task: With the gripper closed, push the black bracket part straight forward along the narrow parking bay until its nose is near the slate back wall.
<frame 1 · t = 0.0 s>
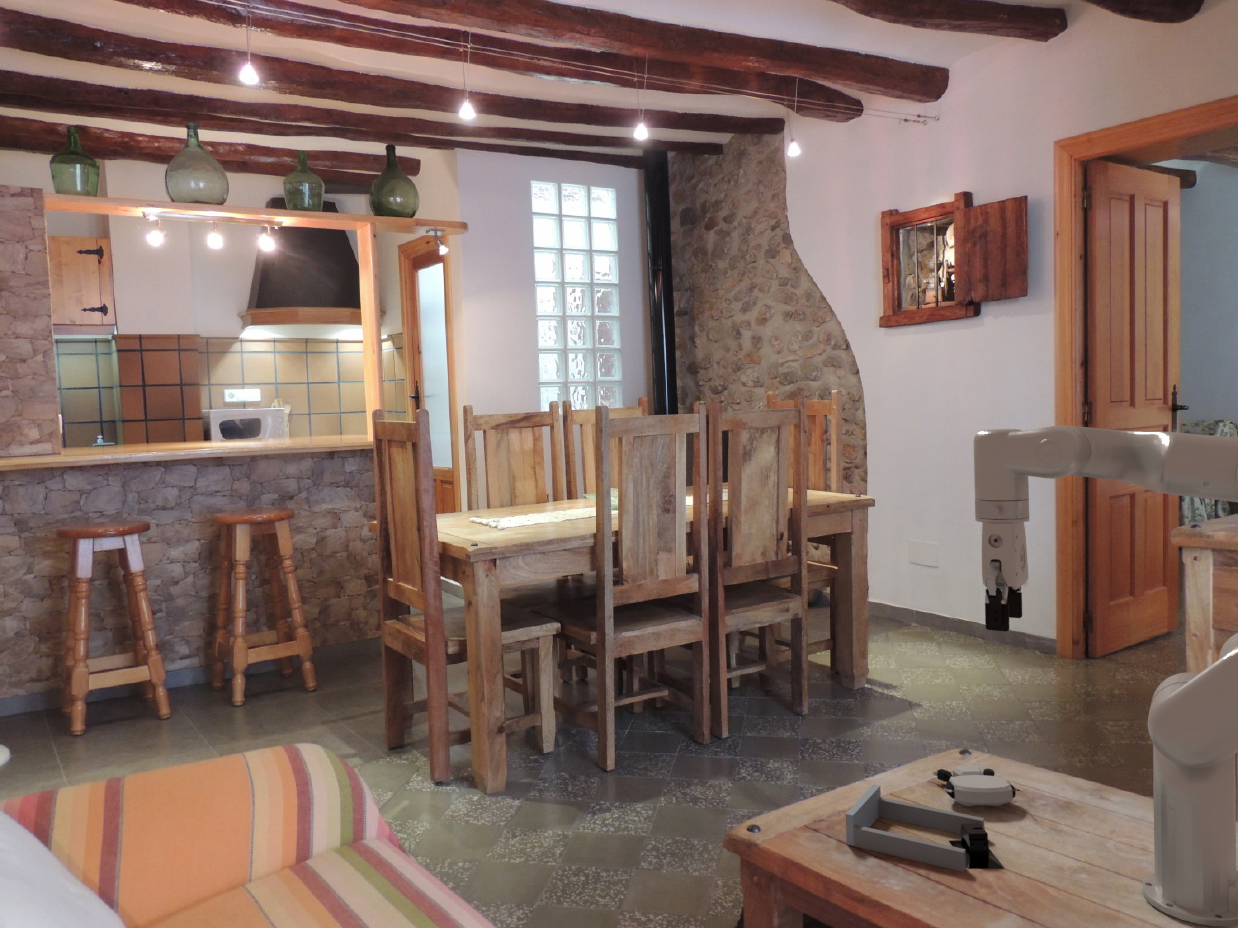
hand: (1004, 623, 136), 37 cm above the table, tool pointing down, fingers open, 9 cm apart
parking bay: (919, 840, 145), on the table
robot toy: (974, 798, 161), on the table
black bracket part: (975, 858, 140), on the table
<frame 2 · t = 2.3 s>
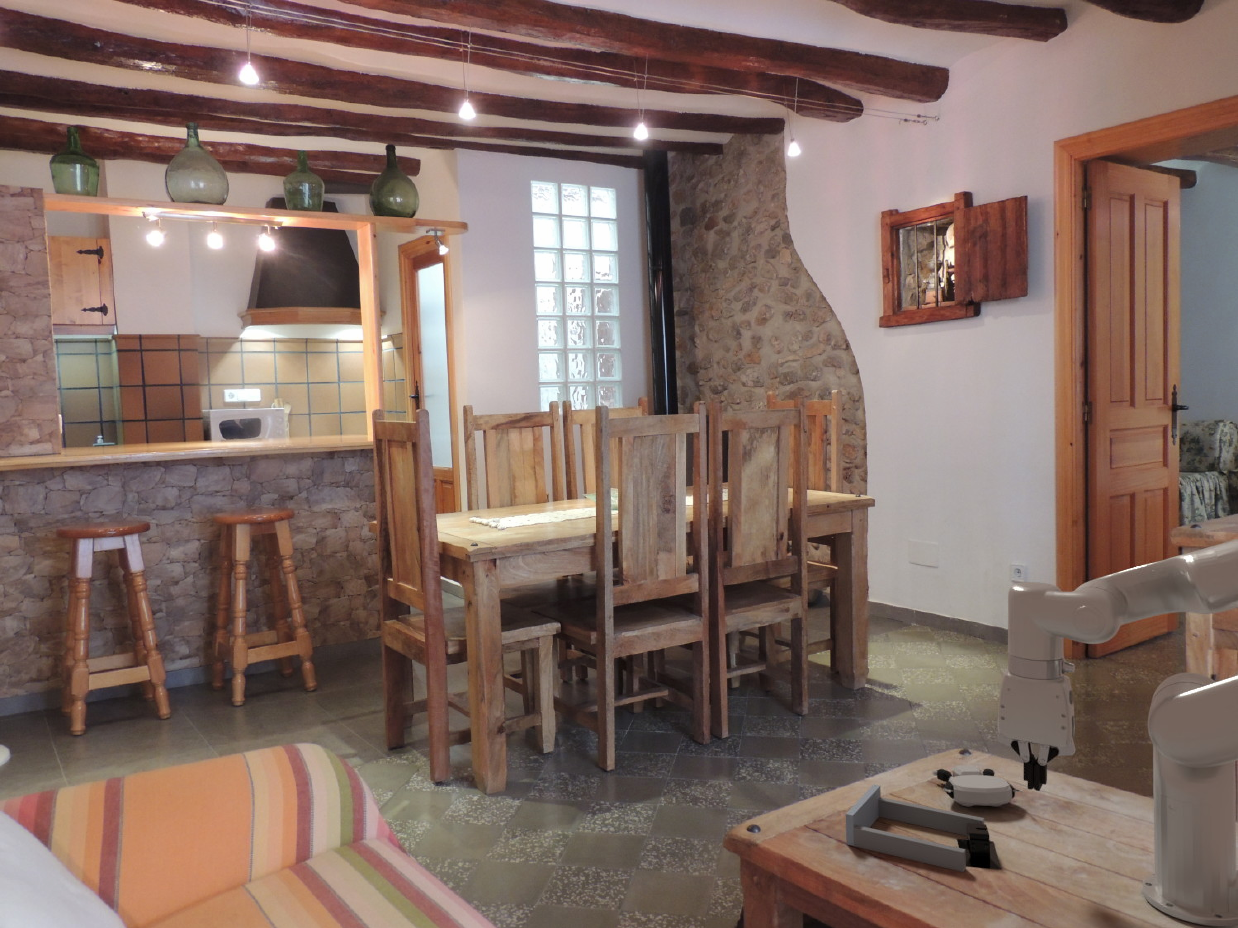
hand: (1035, 786, 135), 12 cm above the table, tool pointing down, fingers closed
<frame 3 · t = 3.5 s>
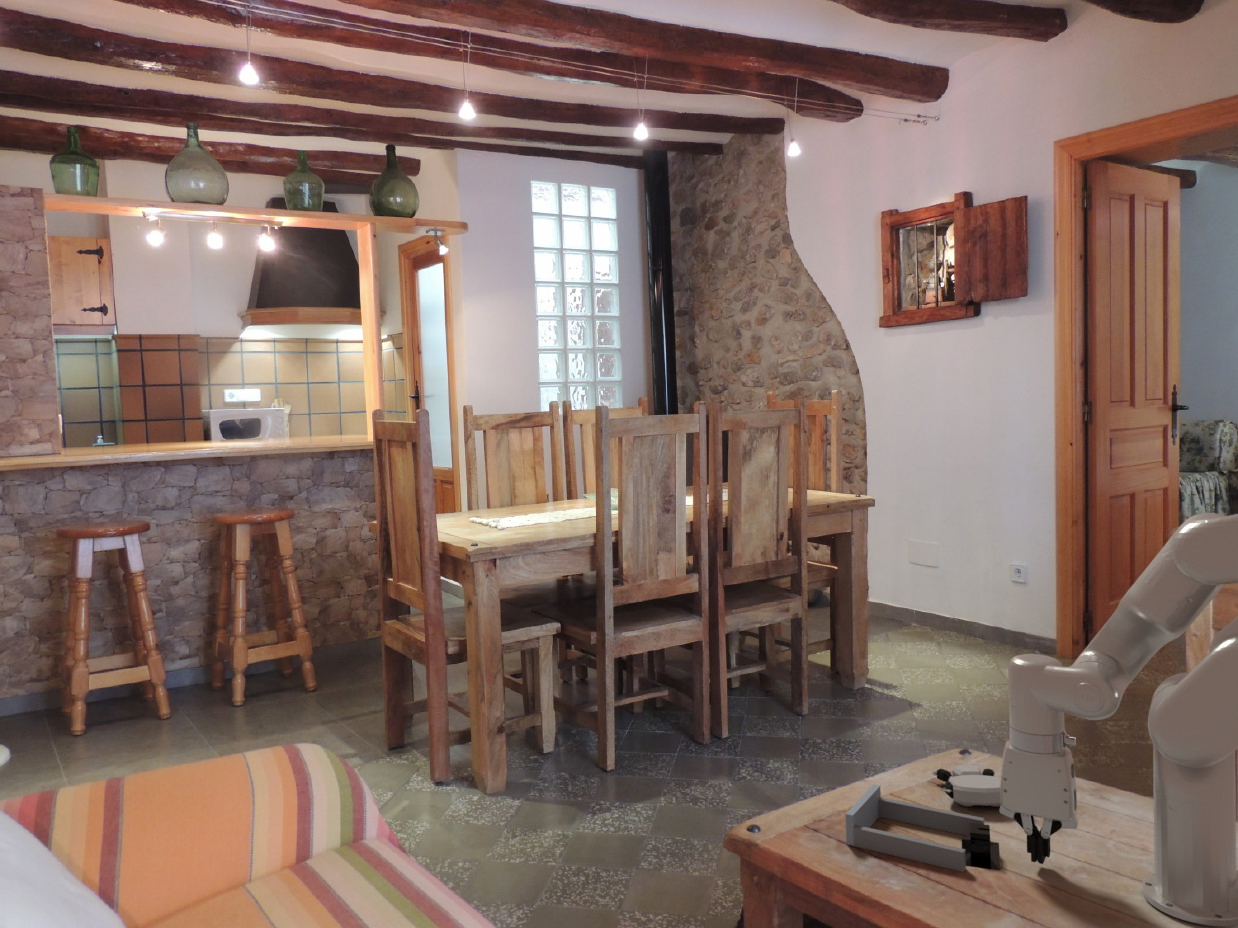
hand: (1038, 858, 135), 1 cm above the table, tool pointing down, fingers closed
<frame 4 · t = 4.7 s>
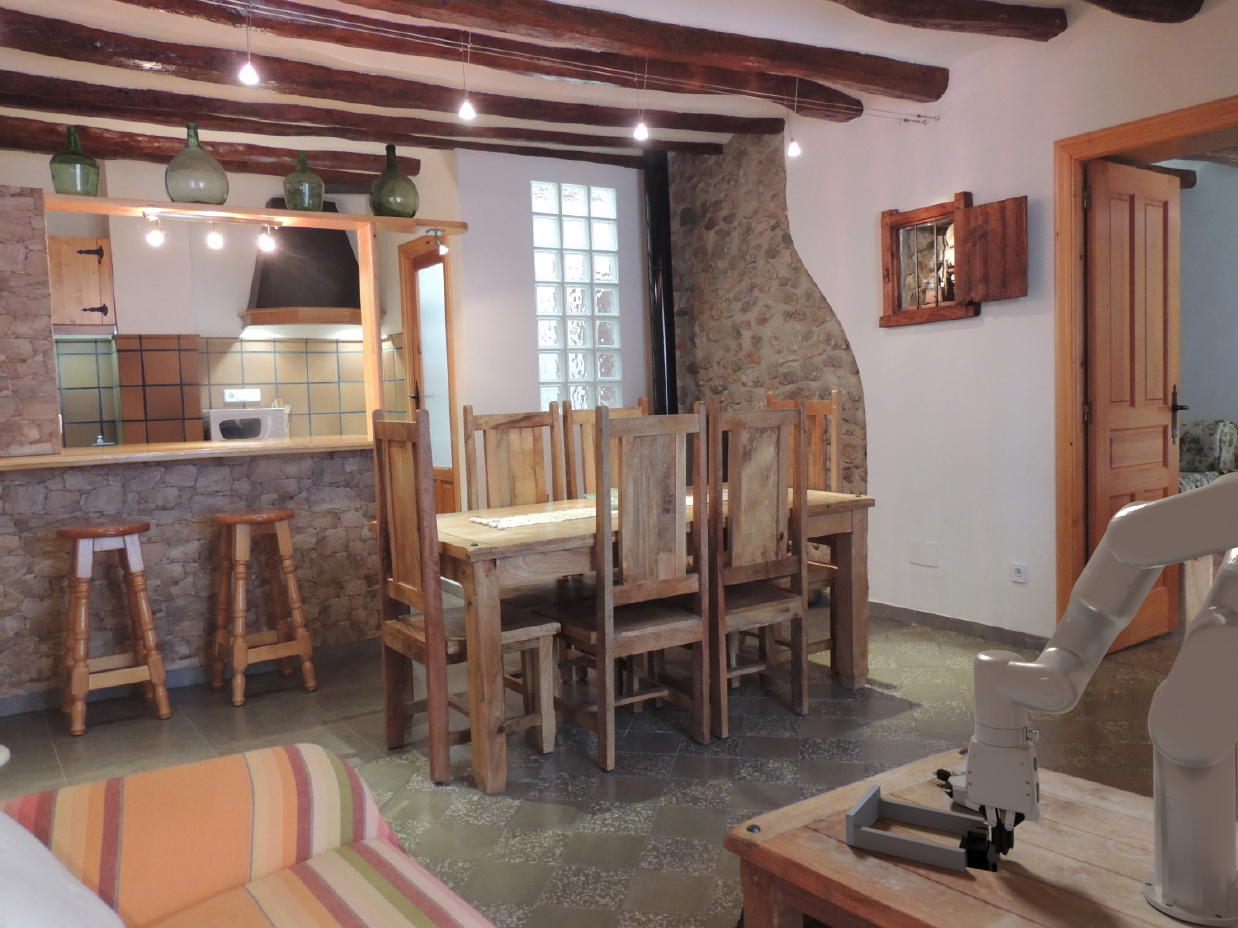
hand: (1002, 850, 138), 1 cm above the table, tool pointing down, fingers closed
black bracket part: (978, 857, 140), on the table, touching gripper
everything else where it was.
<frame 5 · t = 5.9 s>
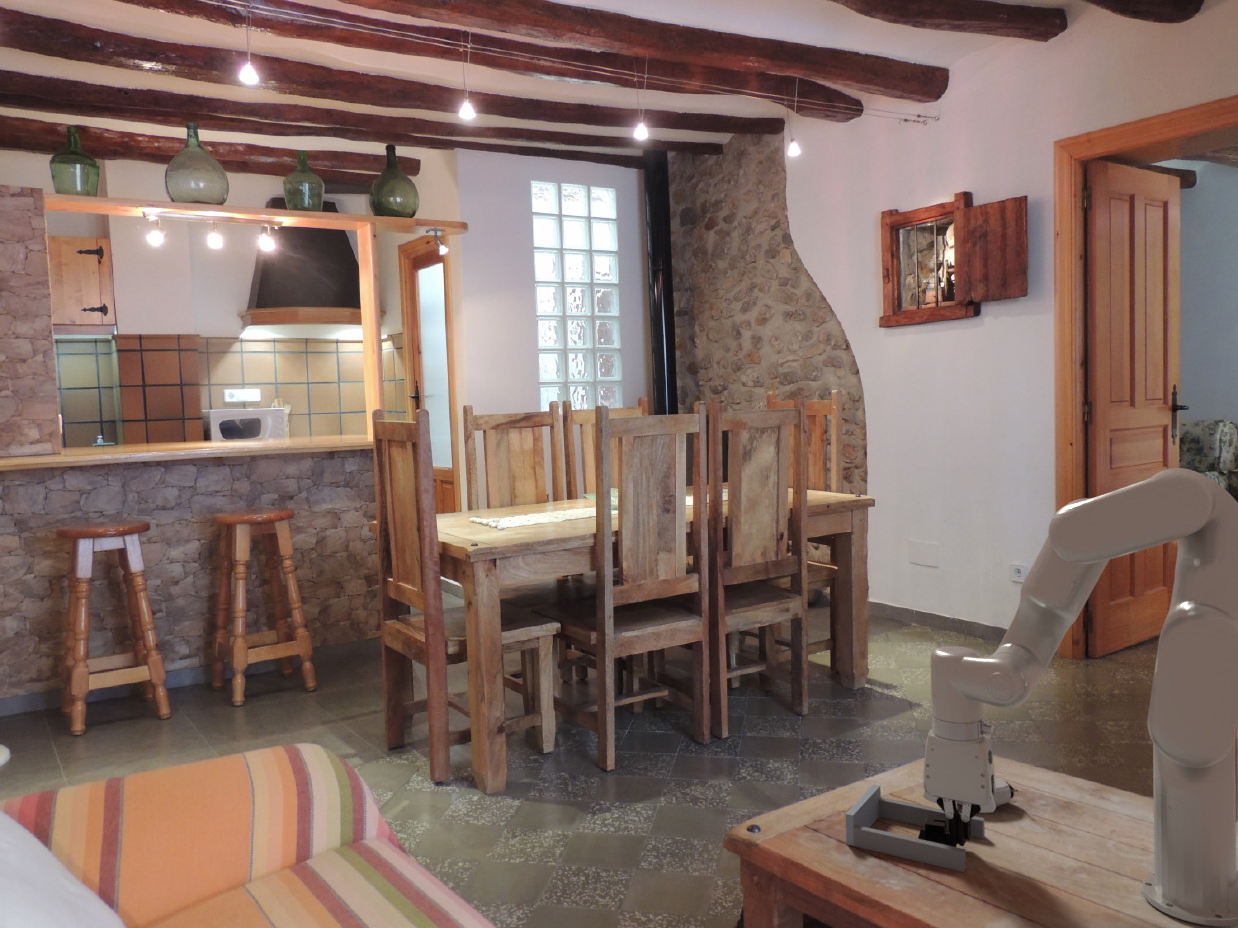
hand: (960, 841, 141), 1 cm above the table, tool pointing down, fingers closed
black bracket part: (936, 849, 143), on the table
everything else where it was.
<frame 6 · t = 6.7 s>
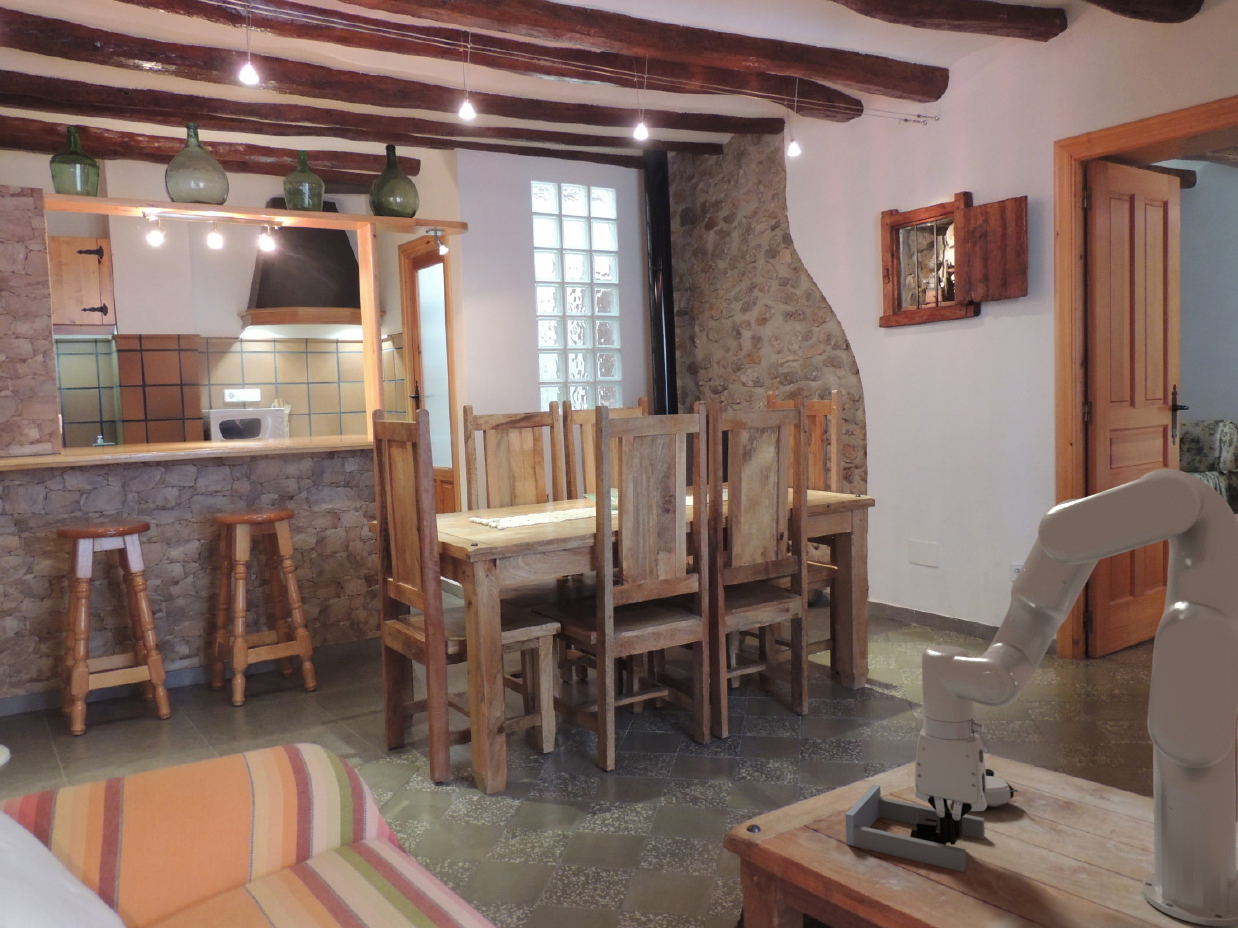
hand: (951, 840, 142), 1 cm above the table, tool pointing down, fingers closed
black bracket part: (927, 848, 144), on the table, touching gripper
everything else where it was.
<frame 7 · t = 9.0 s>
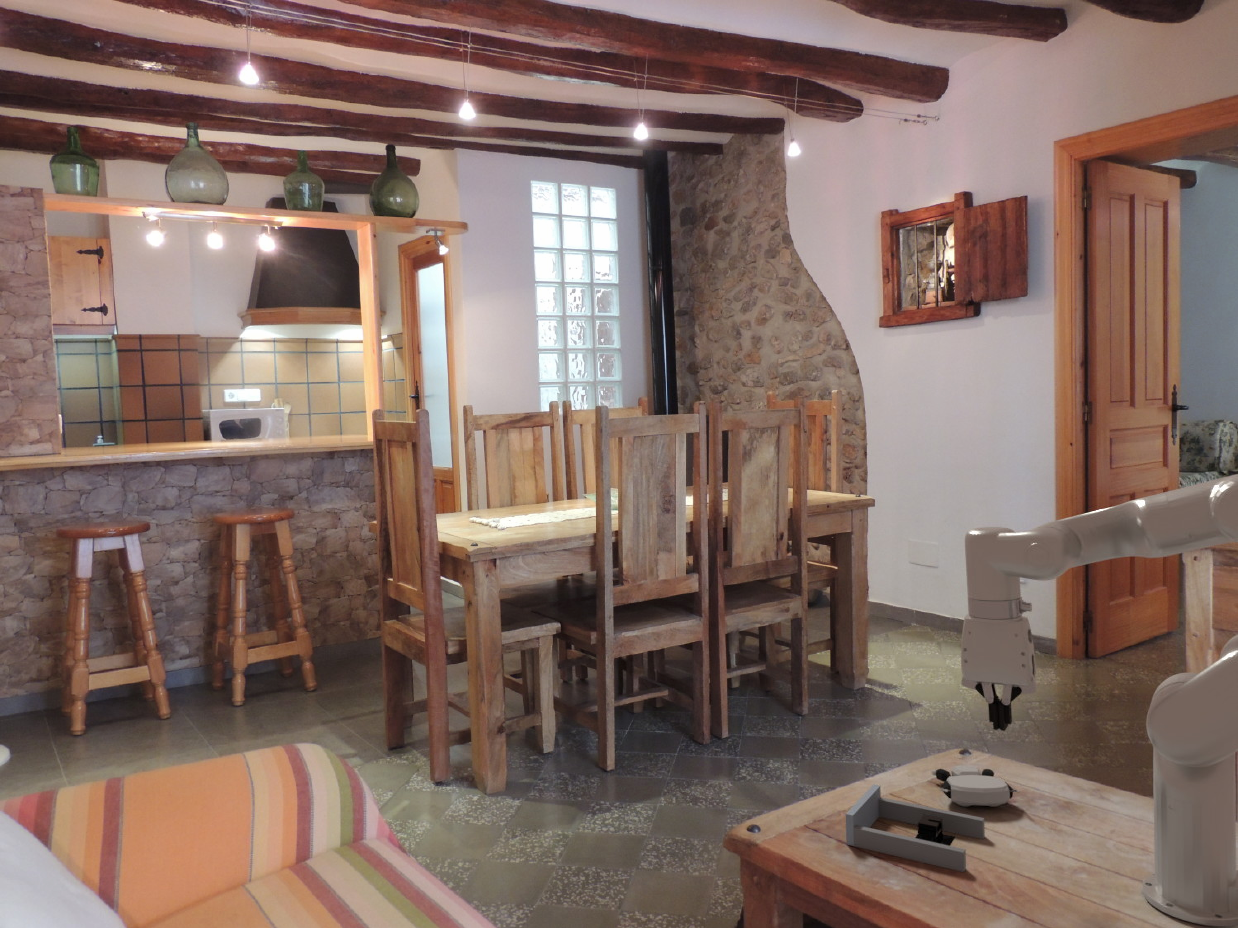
hand: (1000, 727, 137), 20 cm above the table, tool pointing down, fingers closed
black bracket part: (930, 849, 144), on the table
everything else where it was.
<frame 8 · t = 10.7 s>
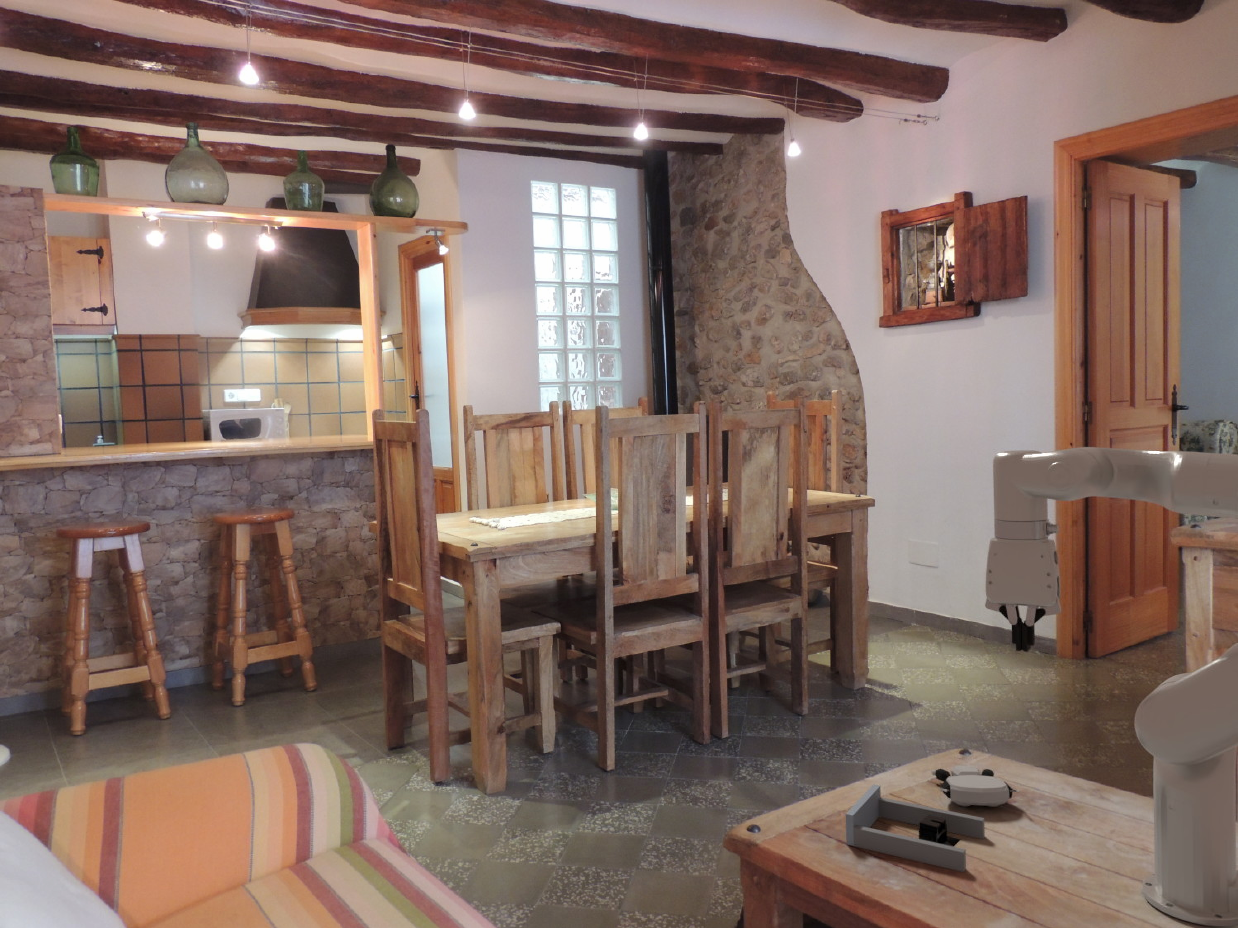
hand: (1023, 649, 138), 32 cm above the table, tool pointing down, fingers closed
at the end: black bracket part inside the target area (3.8 cm from its centre), on the table; black bracket part moved 6.3 cm from its start; robot toy moved 0.6 cm from its start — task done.
